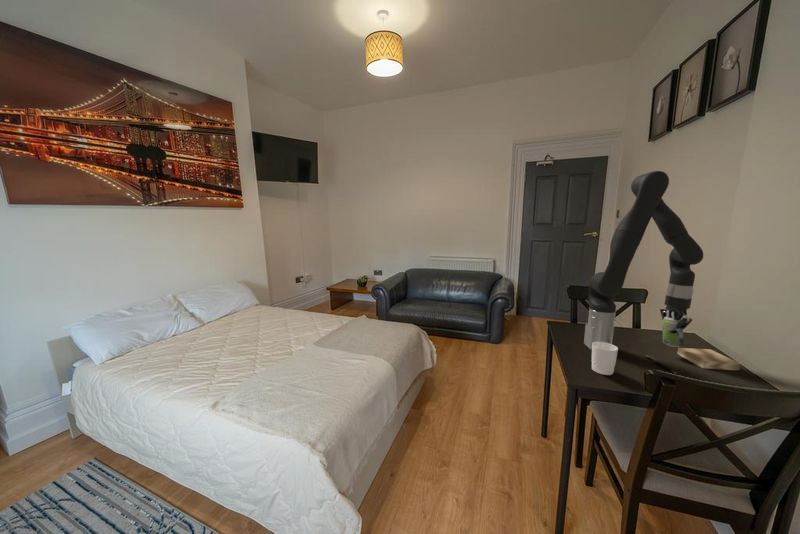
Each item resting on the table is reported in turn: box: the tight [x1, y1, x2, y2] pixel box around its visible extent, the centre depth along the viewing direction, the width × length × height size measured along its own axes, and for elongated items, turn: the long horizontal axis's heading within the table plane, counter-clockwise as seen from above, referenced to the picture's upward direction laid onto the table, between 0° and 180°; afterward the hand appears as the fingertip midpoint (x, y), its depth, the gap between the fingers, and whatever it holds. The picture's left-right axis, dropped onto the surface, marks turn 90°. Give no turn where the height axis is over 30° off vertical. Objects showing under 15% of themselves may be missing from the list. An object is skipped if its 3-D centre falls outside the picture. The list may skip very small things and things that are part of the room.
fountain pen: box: [644, 355, 678, 374], centre depth 110 cm, size 14×1×2 cm, turn 0°
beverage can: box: [661, 317, 684, 348], centre depth 115 cm, size 6×7×12 cm
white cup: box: [591, 342, 619, 376], centre depth 106 cm, size 8×8×10 cm
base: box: [676, 347, 741, 371], centre depth 112 cm, size 12×12×3 cm
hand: (671, 335), depth 116 cm, fingers closed
